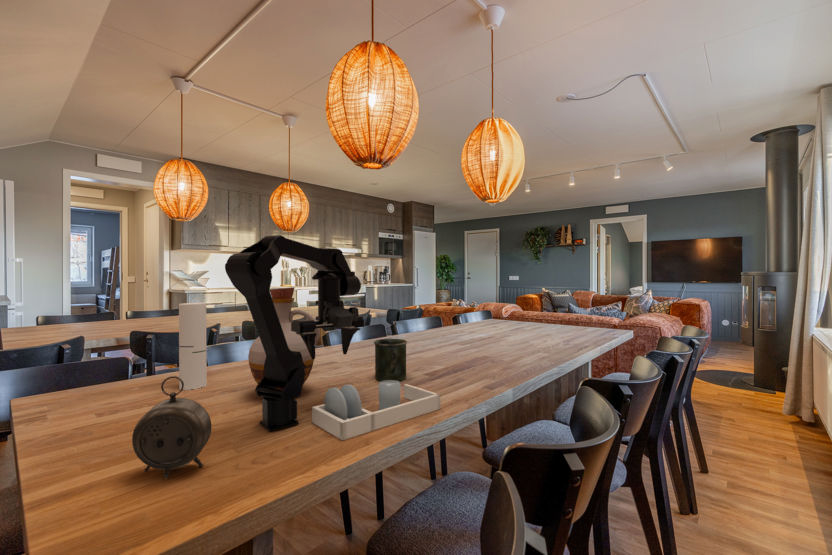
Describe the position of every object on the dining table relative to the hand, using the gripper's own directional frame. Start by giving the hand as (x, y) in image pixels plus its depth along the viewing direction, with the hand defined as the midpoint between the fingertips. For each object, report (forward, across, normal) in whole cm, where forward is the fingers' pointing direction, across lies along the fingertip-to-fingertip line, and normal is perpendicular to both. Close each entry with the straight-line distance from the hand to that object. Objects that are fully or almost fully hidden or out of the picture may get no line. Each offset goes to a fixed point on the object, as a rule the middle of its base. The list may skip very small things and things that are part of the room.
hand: (329, 356), depth 102 cm
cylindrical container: (+12, -23, +41) cm, 49 cm away
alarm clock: (+12, -38, -15) cm, 43 cm away
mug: (+12, +26, +7) cm, 30 cm away
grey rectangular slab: (+12, +7, -16) cm, 21 cm away
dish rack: (+12, +4, -16) cm, 21 cm away
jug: (+12, -5, +16) cm, 21 cm away
